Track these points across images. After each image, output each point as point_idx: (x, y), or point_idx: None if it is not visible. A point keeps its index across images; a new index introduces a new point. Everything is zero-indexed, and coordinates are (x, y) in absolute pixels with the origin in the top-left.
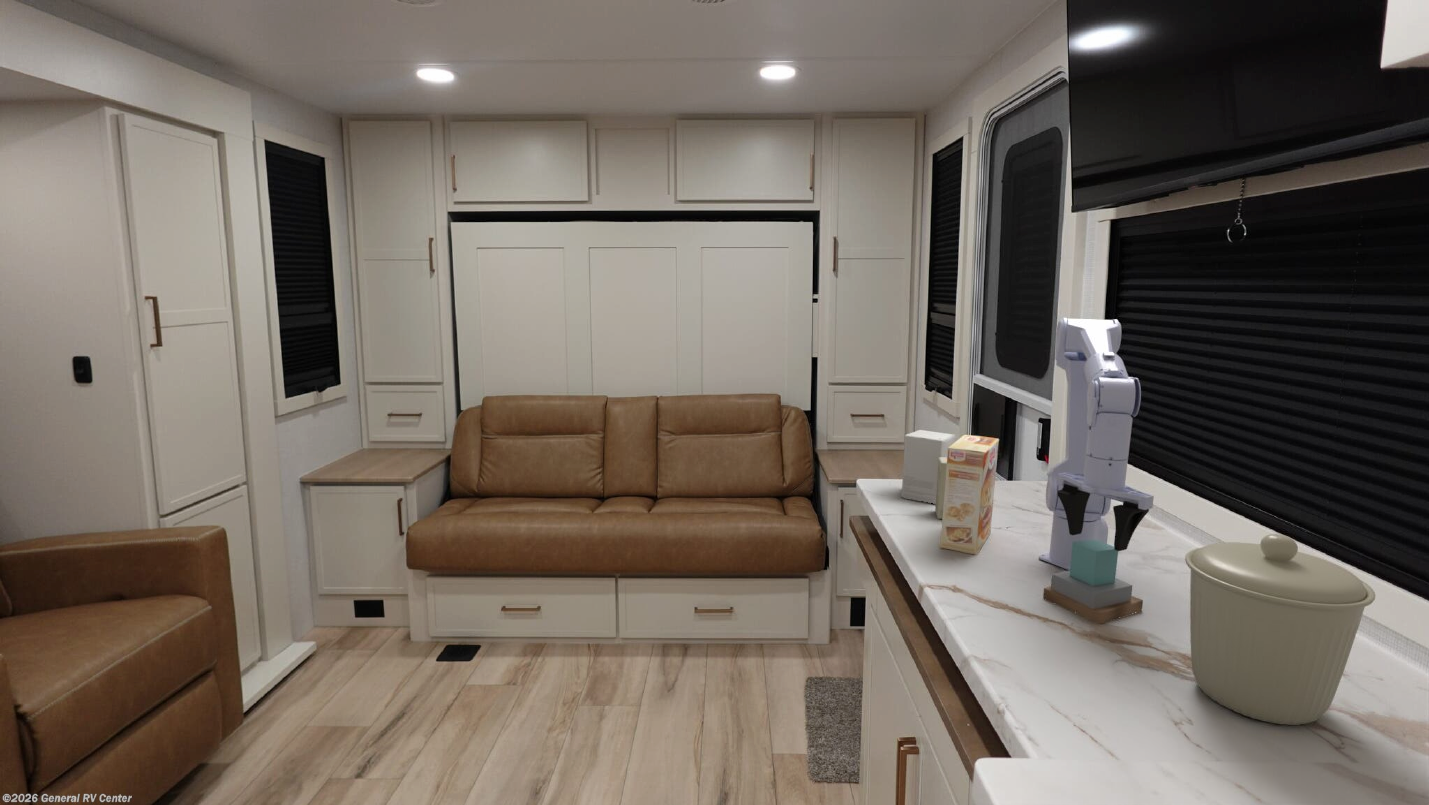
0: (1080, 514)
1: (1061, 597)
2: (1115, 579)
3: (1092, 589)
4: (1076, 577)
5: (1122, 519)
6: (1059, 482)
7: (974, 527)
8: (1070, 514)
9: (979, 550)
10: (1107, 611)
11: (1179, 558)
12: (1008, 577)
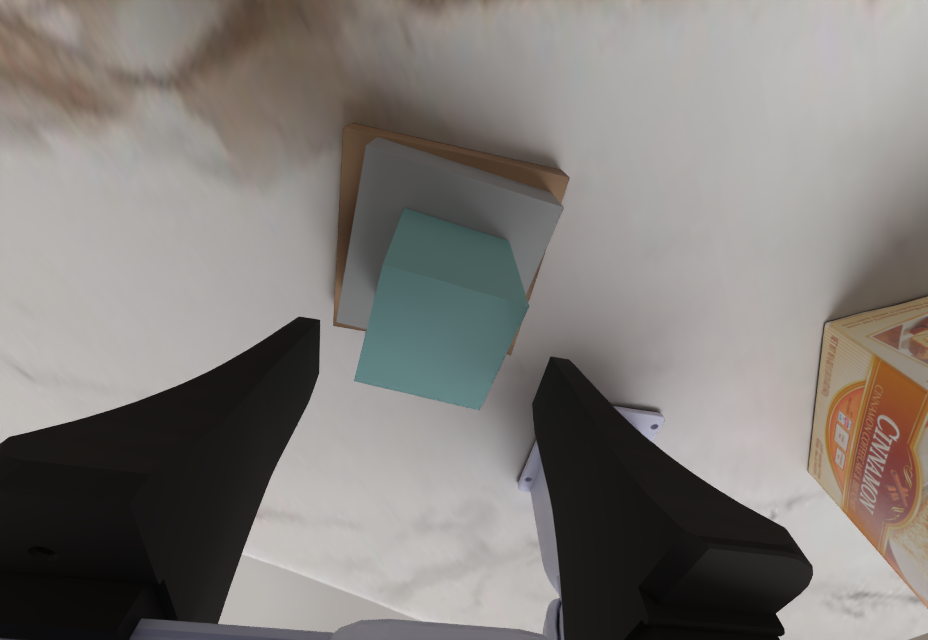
0: (562, 478)
1: (499, 160)
2: None
3: (392, 179)
4: (478, 232)
5: (135, 419)
6: None
7: (923, 372)
8: (603, 426)
9: (822, 353)
10: (342, 161)
11: (439, 578)
12: (700, 241)
